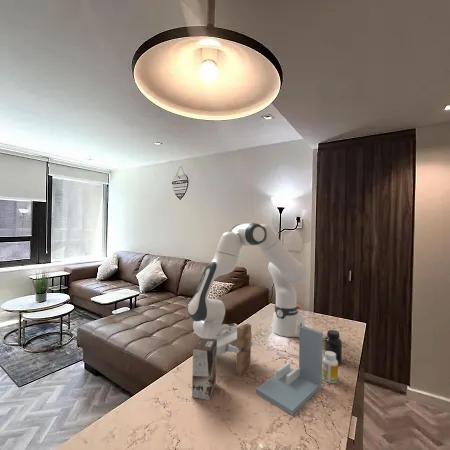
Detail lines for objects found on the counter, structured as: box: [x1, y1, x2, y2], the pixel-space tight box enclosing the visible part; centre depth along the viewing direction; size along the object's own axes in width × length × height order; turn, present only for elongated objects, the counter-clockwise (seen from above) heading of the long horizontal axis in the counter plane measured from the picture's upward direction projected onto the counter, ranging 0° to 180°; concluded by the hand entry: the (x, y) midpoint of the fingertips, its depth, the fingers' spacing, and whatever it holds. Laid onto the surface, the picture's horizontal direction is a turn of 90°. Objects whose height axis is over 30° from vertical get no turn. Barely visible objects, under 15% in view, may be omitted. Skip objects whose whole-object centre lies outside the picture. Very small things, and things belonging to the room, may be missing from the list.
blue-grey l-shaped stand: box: [255, 326, 324, 416], centre depth 88 cm, size 20×14×20 cm
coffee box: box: [191, 337, 217, 401], centre depth 87 cm, size 9×6×16 cm
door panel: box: [235, 323, 252, 377], centre depth 98 cm, size 6×3×18 cm, turn 134°
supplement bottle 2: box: [322, 350, 339, 384], centre depth 95 cm, size 5×5×10 cm
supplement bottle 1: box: [324, 329, 343, 364], centre depth 109 cm, size 7×7×12 cm
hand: (245, 347), depth 98 cm, fingers closed on door panel, 6 cm apart
